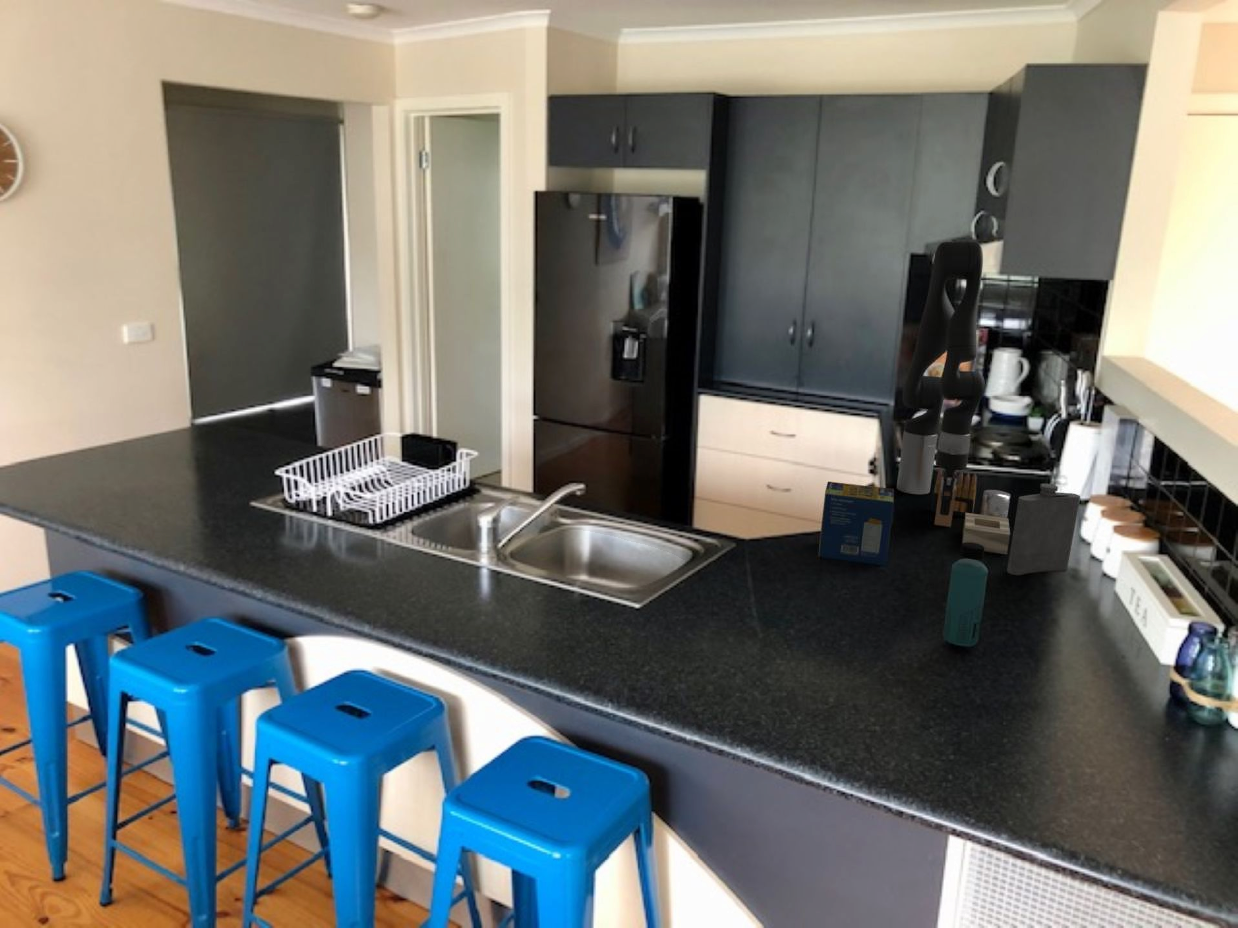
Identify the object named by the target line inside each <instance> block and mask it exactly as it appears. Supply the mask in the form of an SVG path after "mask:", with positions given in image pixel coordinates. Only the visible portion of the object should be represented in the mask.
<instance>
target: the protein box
mask: <svg viewBox="0 0 1238 928" xmlns="http://www.w3.org/2000/svg"><path fill="white" fill-rule="evenodd" d="M894 497H895V489H894V488H889V487H881V486H880V487H879V486H871V485H862V484H855V483H853V484H852V483H843V482H835V481H827V483H826V487H825V491H824V501H823V508H822V518H821V526H820V535H819V542H818V543H819V544H818V545H819V547H818V558H822V559H823V558H825V559H830V560H831V559H832V560H839V561H844V560H845V562H852V561H854V562H853V563H859V562H861V564H866V563H868V564H869V565H874V564H875V565H874V566H882V567H885V566H887V560H888V552H889V546H890V545H889V544H890V536H891V530H892V529H891V528H892V522H893V521H892V520H893V513H894V503H895V502H894V501H895V500H894V499H895V498H894Z"/></svg>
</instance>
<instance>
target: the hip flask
mask: <svg viewBox="0 0 1238 928" xmlns="http://www.w3.org/2000/svg"><path fill="white" fill-rule="evenodd" d="M1039 487H1040V493H1037V494H1028V495H1027V494H1026V495H1022V496H1021V495H1020V496H1019V497H1018V500H1017V501H1018V502H1017V508H1016V513H1015V521H1014V524H1013V525H1014V527H1013V532H1012V538H1011V545H1010V551H1009V557H1008V563H1007V569H1006V572H1007V573H1008V574H1010V575H1014V576H1022V575H1025V574H1032V573H1041V572H1053V571H1056V572H1057V571H1067V570H1068V566H1069V562H1070V557H1071V552H1072V551H1071V550H1072V545H1073V539H1074V532H1075V529H1076V522H1077V518H1078V517H1077V516H1078V512H1079V511H1078V510H1079V505H1080V501H1081V495H1079V494H1076V493H1071V492H1060V491H1059V492H1058V490H1059V487H1058V486H1057V485H1055V484H1051V483H1041V484H1040V486H1039Z"/></svg>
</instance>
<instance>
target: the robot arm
mask: <svg viewBox="0 0 1238 928" xmlns="http://www.w3.org/2000/svg"><path fill="white" fill-rule="evenodd" d="M983 265H984V253H983V248H982V246H981V244H980V243H979V242H977V241H944V242H943V241H942V242H941V243H940V244H938V246H937V248H936V250H935V252H934V257H933V262H932V268H931V275H930V279H929V280H930V281H929V288H928V293H927V299H926V302H925V307H924V309H923V313H922V317H921V320H920V324H919V329H918V333H917V338H916V343H915V349H914V352H913V356H912V360H911V364H910V367H909V369H908V372H907V375H906V378H905V381H904V385H903V390H902V396H901V397H902V403H903V405H904V406H905V407H907V408H910V409H920V410H921V409H922V410H923V409H924V410H926V411H925V412H924V413H923V414H921V415H919V416H915V417H911V418H909V419H907V420H906V421H905V422H904V426H903V433H902V434H903V435H902V442H901V443H902V444H901V450H900V459H899V465H898V466H899V467H898V475H897V481H896V482H897V483H896V490H898V491H900V492H903V493H906V494H911V495H927V494H929V493H930V492H931V485H932V479H933V472H934V464H935V466H936V467H938V468H939V469H940V468H941V469H943V470H944V472H943V471H942V474H941V490H940V491H941V492H942V497H941V500H942V501H941V508H940V514H941V515H949V510H950V503H951V500H952V494H954V492H955V485H957V481H958V477H959V474H958V473H956V474H955V472H956V471H960V472H961V471H964V470H966V469H967V466H968V461H969V451H970V446H971V431H972V424H973V418H974V416H975V414H976V410H977V409H978V406H979V404H980V401H981V399H982V397H983V394H984V392H985V389H986V388H985V387H986V383H985V382H986V381H985V379H984V378H985V377H984V376H983V374H981V373H980V372H979V371H975V370H974V371H973V370H971V371H970V370H969V371H968V370H959V368H960V365H961V364H963V363H969V362H971V361H974V360H975V359H977V352H978V351H977V321H978V319H977V317H978V309H979V308H978V307H979V301H980V293H981V284H982V276H983V267H984V266H983ZM949 280H965V289H964V290H965V291H964V293H963V296H962V298H961V300H960V302H959V303H958V306H957V307H956V309H954V307H953V306H952V303H951V301H950V300H949V297H948V294H947V291H946V283H947V281H949ZM945 353H946V356H945V361H944V367H943V369H942V373H941V376H936V375H935V376H932V375H924V374H925V373H926V371H927V370H928V368H929V367H930V366H931V365H932V364H933V363H935V362H936V361H937V360H939V359H940V357H942V356H943V355H944V354H945ZM945 399H947V400H961V402H960V403H959V404H958V405H956V406H952V407H951V406H950V407H948V408H946V409H945V410H944V411H943V404H944V400H945ZM942 411H943V414H942ZM941 415H943V416H942V420H941ZM941 421H942V422H941ZM940 422H941V429H940V434H939V427H940ZM938 434H939V437H938ZM937 441H938V442H937ZM937 443H938V444H937ZM936 449H937V451H936ZM935 457H936V459H935ZM944 493H950V496H945V495H944Z"/></svg>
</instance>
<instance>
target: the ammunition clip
mask: <svg viewBox="0 0 1238 928" xmlns="http://www.w3.org/2000/svg"><path fill="white" fill-rule="evenodd" d="M942 469H943V468H939V469H938V472H937V475H936V479H935V484H934V491H933V496H932V502H931V506H930V511H931V512H934V513H936V509H937V502H938V495H939V488H940V483H941V474H942V472H943V470H942ZM955 474H957V472H956V471H955ZM963 474H964V473H963V470H960V472H959V474H958V478H957V483H956V494H955V501H954V508H953V515H952V516H957V517H962V516H963V518H965V514H966V513H971V514H975V513H974V511H975V510H974V509H975V502H976V501H975V500H976V494H977V474H976V473H974V474H973V476H972V478H971V477H970V476H971V475H970V472H967V473H966V475H965V477H964V475H963ZM963 477H964V478H963ZM970 478H971V483H970ZM963 479H964V482H963Z"/></svg>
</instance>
